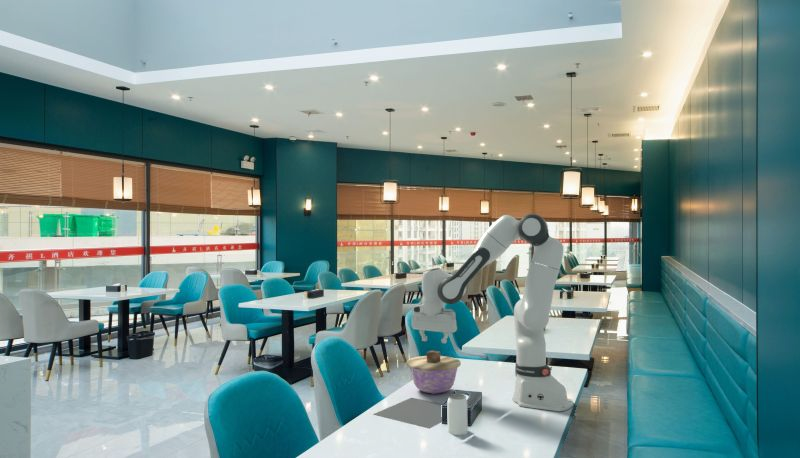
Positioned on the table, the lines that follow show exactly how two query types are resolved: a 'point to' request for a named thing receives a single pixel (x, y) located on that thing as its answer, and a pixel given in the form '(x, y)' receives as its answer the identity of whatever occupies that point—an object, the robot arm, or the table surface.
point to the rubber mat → (414, 412)
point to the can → (457, 414)
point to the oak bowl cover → (433, 362)
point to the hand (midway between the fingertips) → (434, 341)
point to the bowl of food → (433, 380)
